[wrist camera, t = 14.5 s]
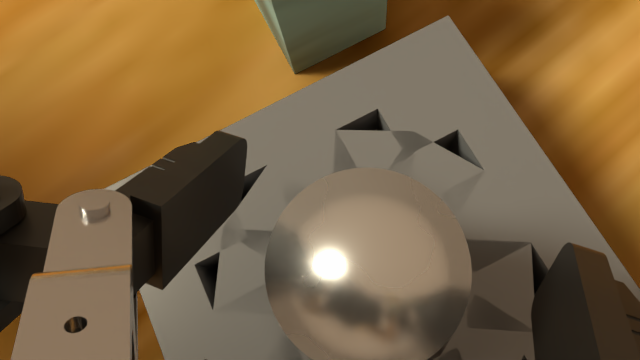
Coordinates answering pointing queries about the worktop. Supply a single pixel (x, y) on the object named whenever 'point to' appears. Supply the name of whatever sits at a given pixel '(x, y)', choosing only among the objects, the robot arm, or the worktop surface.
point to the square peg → (321, 26)
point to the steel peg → (368, 268)
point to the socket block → (405, 158)
